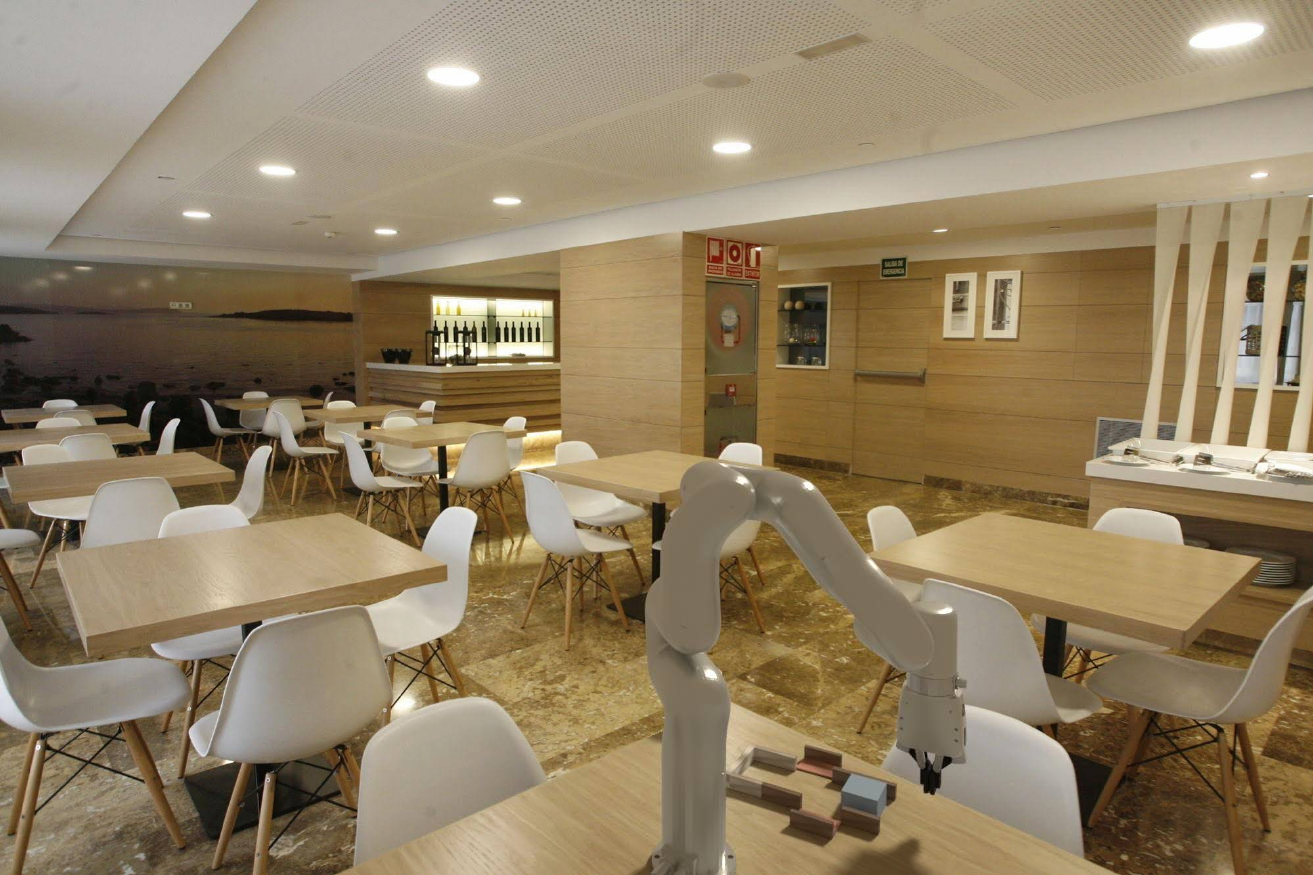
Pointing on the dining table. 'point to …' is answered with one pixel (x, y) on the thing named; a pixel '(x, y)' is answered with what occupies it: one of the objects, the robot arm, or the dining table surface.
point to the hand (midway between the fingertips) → (930, 789)
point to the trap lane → (813, 763)
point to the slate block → (864, 794)
